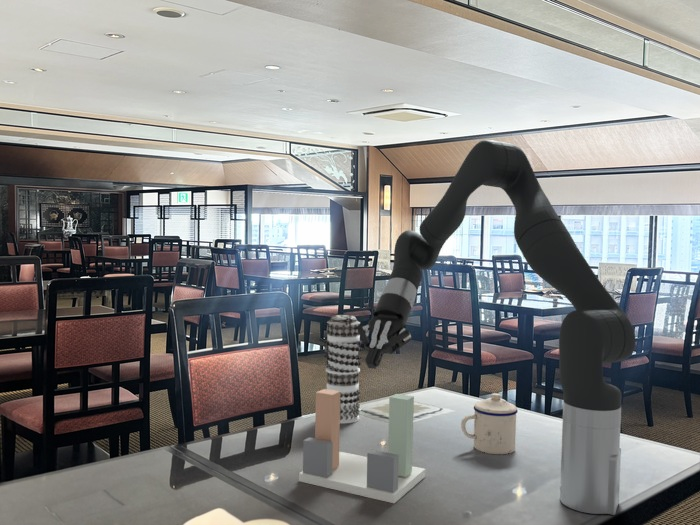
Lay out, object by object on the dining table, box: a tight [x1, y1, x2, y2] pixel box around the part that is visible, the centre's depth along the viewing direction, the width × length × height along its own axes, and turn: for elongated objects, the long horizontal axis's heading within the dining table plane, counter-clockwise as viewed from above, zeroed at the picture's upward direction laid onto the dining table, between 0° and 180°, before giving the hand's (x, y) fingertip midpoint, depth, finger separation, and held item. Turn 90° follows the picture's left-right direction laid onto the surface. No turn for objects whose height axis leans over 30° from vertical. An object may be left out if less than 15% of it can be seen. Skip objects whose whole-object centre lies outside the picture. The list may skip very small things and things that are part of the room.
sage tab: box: [387, 393, 415, 477], centre depth 119 cm, size 4×3×14 cm
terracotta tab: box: [314, 388, 341, 470], centre depth 122 cm, size 4×3×14 cm
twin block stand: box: [298, 436, 426, 504], centre depth 121 cm, size 19×14×8 cm
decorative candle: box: [323, 314, 363, 424], centre depth 159 cm, size 9×9×25 cm
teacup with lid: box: [460, 393, 518, 455], centre depth 139 cm, size 12×9×12 cm
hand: (370, 366), depth 137 cm, fingers closed
